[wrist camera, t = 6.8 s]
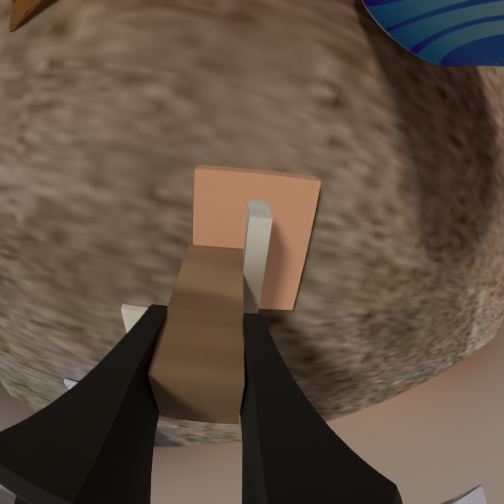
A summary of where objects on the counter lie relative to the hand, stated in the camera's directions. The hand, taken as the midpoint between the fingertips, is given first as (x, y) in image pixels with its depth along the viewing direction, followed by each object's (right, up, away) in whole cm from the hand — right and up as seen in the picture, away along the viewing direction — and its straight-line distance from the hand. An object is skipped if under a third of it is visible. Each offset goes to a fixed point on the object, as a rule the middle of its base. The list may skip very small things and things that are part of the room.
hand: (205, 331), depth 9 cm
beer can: (+10, +17, -1) cm, 20 cm away
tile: (-2, +3, +6) cm, 7 cm away
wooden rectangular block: (0, +2, +4) cm, 4 cm away
